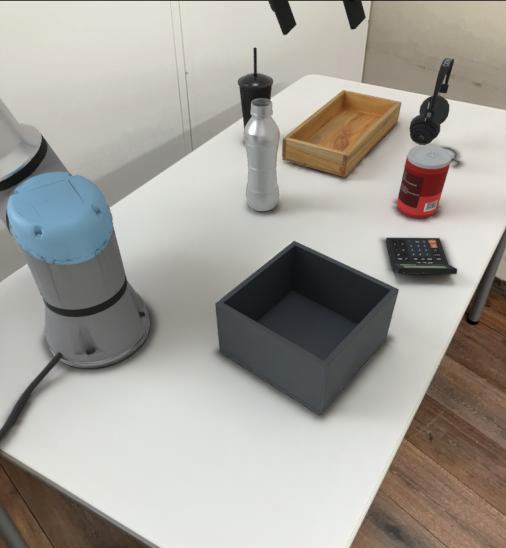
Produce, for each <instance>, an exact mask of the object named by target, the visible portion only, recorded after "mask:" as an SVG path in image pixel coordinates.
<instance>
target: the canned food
mask: <svg viewBox="0 0 506 548" xmlns="http://www.w3.org/2000/svg"><path fill="white" fill-rule="evenodd" d="M452 159H453V158H452V154H451V152H450V151H449V150H448V149H447V148H445V147H441V146H438V145H434V144H426V145H420V144H418V145H416V146H415V145H414V146H413V147H411V148H410V149H409V150H408V151H407V154H406V159H405V163H404V167H403V172H402V177H401V182H400V187H399V191H398V196H397V201H396V204H397V209H398V211H399V212H400V213H401V214H402V215H404V216H406V217H409V218H413V219H425V218H428V217H431V216H433V215H434V214H435V213H436V211H437V210H438V208H439V205H440V200H441V197H442V194H443V190H444V187H445V183H446V180H447V176H448V174H449V170H450V166H451V163H452V161H451V160H452Z"/></svg>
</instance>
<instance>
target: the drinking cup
mask: <svg viewBox="0 0 506 548" xmlns="http://www.w3.org/2000/svg"><path fill="white" fill-rule="evenodd" d="M237 85H238V88H239V96H240V97H239V98H240V104H241V114H242V121H243V130H244V129H245V126H246V124H247V123H248V121H249V120H250V118H251V117H252V115H251V102H252V101H253V100H255V99H260V98H264V99H269V100H271V99H272V87H273V86H274V80H273V78H272V77H271V76H269V75H267V74H265V73H261V72H258V48H257V47H253V72H251V73H247V74H245V75H243V76H241V77H239V78H238V79H237Z"/></svg>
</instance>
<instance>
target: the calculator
mask: <svg viewBox="0 0 506 548" xmlns="http://www.w3.org/2000/svg"><path fill="white" fill-rule="evenodd" d="M385 244H386V249H387V254H388V257H389V262H390V267H391V269H392V270H394V271H395V272H396V273H397V274H404V275H407V274H408V275H411V274H414V275H416V274H417V275H429V274H430V275H457V274H458V268H457V267H455V266H454V265H451V264H449V261H448V259H447V256H446V253H445V250H444V246H443V245H442V241H441V238H440V237H386V238H385Z"/></svg>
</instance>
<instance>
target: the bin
mask: <svg viewBox="0 0 506 548" xmlns="http://www.w3.org/2000/svg"><path fill="white" fill-rule="evenodd" d="M399 292H400V289H399V288H398V287H395V286H393V285H391V284H389V283H387V282H385V281H383V280H380V279H378V278H376V277H373V276H372V275H369V274H367V273H365V272H362V271H361V270H359V269H356V268H354V267H352V266H350V265H348V264H345V263H344V262H341V261H339V260H337V259H335V258H333V257H330V256H328V255H326V254H324V253H322V252H320V251H317V250H315V249H312V248H311V247H309V246H306V245H304V244H302V243H300V242H298V241H296V240H293V241H292V242H290V243H289V244H288V245H286V246H285V247H284V248H283V249H282V250H280V251H279V252H278V253H277V254H275V255H274V256H273V257H272V258H270V259H269V260H268V261H267V262H265V263H264V264H263V265H261V266H260V267H259V268H257V269H256V270H255V271H254V272H253V273H251V274H250V275H249V276H247V277H246V278H245V279H244V280H243V281H241V282H240V283H239V284H237V286H235V287H234V288H232V289H231V290H230V291H228V293H226V294H225V295H224V296H222V297H221V298H219V300H217V301H216V302H215V303H214V306H215V307H214V308H215V318H216V328H217V335H218V336H217V337H218V338H217V339H218V348H219V353H220V354H222V355H223V356H225V357H227V358H228V359H230V360H231V361H233V362H235V363H236V364H237V365H239V366H241V367H243V369H245V370H247V371H248V372H251V373H252V374H253V375H255V376H257V377H258V378H260V379H261V380H263V381H265V382H266V383H267V384H269V385H271V386H272V387H274V388H276V389H277V390H279V391H280V392H282V393H284V394H285V395H287V397H289V398H290V399H292V400H295V401H296V402H298V403H299V404H301V405H302V406H304V407H306V408H307V409H309V410H310V411H312V412H313V413H315V414H316V415H318V416H320V415H321V414H322V413H323V412H324V410H326V408H327V407H328V406H329V405H330V404H331V402H333V400H335V398H336V397H337V396H338V394H340V392H341V391H342V390H343V389H344V388H345V387H346V386H347V384H348V383H349V382H350V381H352V379H353V378H354V376H355V375H357V373H358V372H359V371H360V369H361V368H362V367H363V366H364V365H365V364H366V363H367V361H368V360H369V359H370V358H371V357H372V356H373V355H374V353H375V352H376V351H377V350H378V349H379V348H380V346H382V344H383V343H384V342H385V341H386V340H387V338H388V333H389V330H390V326H391V323H392V318H393V316H394V312H395V307H396V302H397V298H398V295H399Z"/></svg>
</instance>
